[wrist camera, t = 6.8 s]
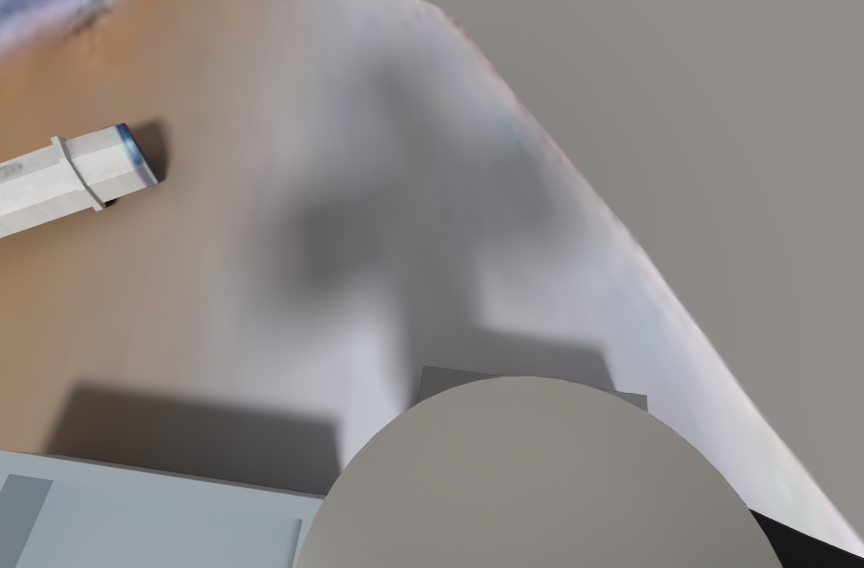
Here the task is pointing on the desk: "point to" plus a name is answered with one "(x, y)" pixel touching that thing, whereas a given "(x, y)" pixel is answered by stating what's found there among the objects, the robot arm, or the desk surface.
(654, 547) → the light bulb
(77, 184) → the white long bar
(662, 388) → the desk surface
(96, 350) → the desk surface
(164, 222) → the desk surface
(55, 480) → the tray
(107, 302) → the desk surface
